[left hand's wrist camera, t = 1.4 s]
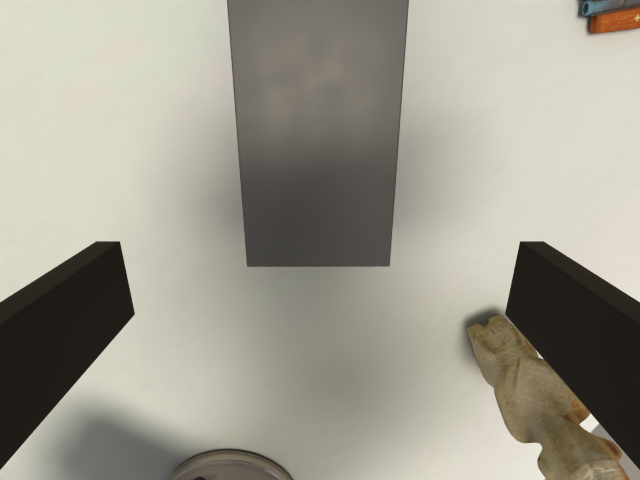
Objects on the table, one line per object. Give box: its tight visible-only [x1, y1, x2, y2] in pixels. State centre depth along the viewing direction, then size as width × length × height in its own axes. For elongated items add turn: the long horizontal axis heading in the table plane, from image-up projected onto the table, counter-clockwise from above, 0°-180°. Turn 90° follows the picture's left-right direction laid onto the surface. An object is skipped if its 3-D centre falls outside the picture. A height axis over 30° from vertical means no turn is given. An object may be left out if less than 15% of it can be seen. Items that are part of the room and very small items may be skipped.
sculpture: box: [467, 315, 630, 480], centre depth 29 cm, size 6×7×15 cm
